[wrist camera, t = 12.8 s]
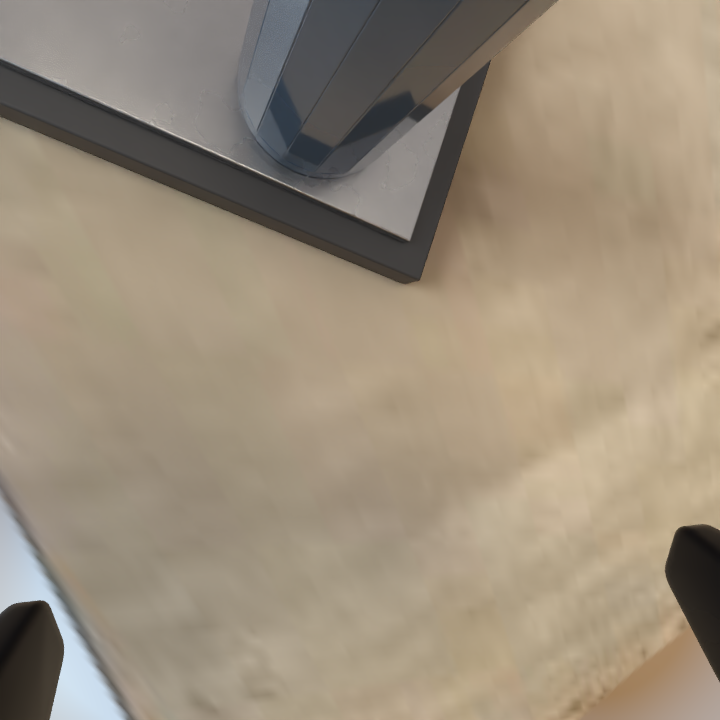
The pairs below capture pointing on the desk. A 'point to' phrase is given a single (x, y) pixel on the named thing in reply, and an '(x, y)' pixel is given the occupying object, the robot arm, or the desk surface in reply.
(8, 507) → the desk surface
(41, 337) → the desk surface
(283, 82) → the faceted blue cylinder
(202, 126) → the scale
